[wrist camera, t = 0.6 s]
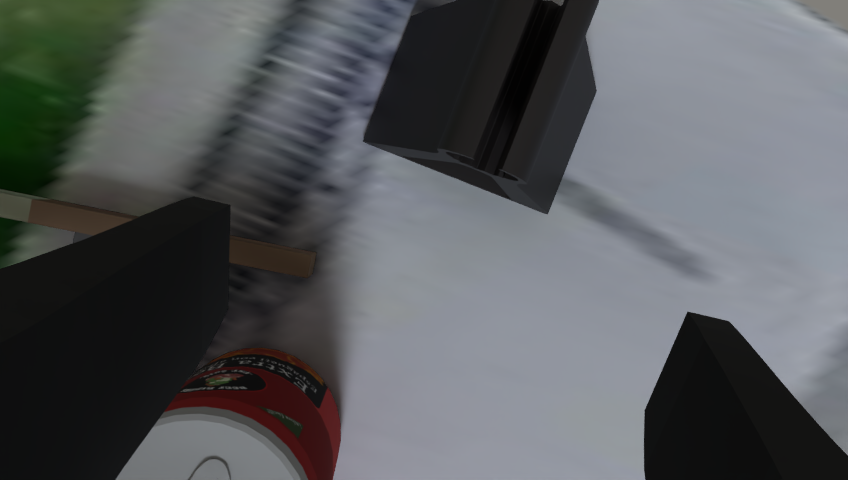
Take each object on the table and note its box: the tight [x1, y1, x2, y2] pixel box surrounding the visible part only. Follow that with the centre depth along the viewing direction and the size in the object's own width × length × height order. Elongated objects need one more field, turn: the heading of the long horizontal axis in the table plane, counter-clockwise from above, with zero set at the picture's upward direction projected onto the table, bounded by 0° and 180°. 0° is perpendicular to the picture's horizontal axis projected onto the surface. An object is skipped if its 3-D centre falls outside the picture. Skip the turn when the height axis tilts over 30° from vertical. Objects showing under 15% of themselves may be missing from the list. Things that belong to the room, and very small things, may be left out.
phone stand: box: [363, 0, 599, 214], centre depth 27 cm, size 9×6×12 cm, turn 68°
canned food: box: [116, 348, 341, 480], centre depth 28 cm, size 8×8×11 cm
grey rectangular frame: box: [0, 189, 317, 278], centre depth 32 cm, size 17×22×2 cm
